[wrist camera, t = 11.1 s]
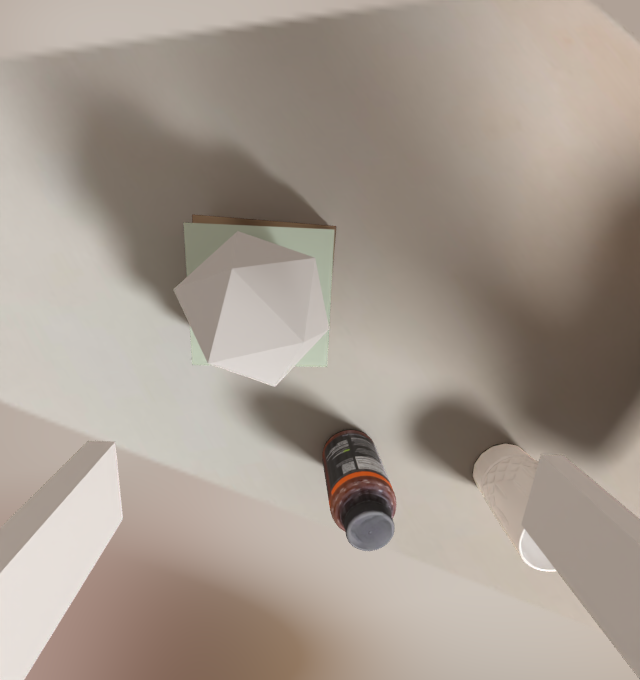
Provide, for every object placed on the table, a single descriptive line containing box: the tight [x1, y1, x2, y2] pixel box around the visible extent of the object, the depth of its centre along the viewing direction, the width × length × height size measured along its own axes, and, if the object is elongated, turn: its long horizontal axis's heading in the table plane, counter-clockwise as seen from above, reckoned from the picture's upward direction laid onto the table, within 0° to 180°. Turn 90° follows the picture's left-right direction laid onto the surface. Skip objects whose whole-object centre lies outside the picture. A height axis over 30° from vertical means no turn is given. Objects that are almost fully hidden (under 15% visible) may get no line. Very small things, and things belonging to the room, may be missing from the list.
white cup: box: [473, 444, 556, 571], centre depth 37 cm, size 8×8×10 cm
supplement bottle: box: [323, 430, 396, 551], centre depth 34 cm, size 6×6×11 cm
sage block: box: [183, 223, 334, 367], centre depth 27 cm, size 10×10×4 cm
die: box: [173, 231, 329, 387], centre depth 22 cm, size 8×9×10 cm
